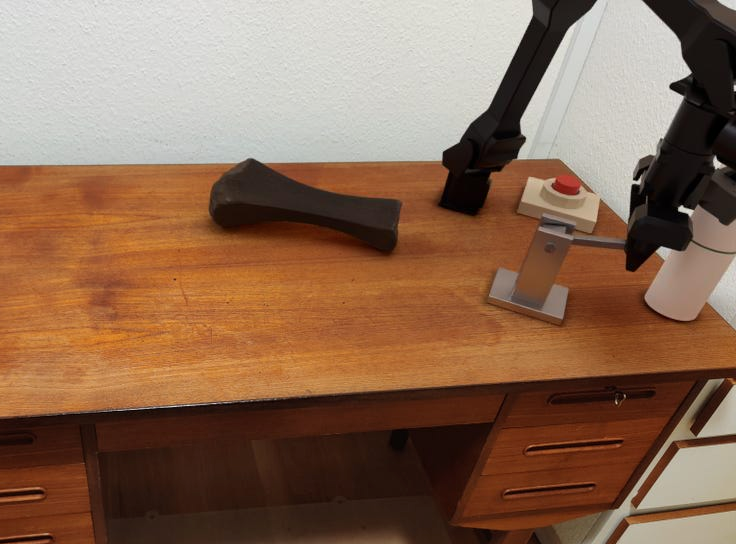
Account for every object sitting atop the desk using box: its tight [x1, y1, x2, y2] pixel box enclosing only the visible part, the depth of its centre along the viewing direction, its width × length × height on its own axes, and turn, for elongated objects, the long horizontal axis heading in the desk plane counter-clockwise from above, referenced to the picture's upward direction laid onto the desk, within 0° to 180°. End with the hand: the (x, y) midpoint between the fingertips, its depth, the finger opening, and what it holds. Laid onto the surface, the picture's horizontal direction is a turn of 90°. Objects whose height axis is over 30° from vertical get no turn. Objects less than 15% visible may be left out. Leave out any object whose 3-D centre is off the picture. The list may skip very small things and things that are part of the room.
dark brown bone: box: [208, 157, 403, 251], centre depth 107 cm, size 11×10×28 cm
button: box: [552, 174, 582, 196], centre depth 119 cm, size 4×4×2 cm
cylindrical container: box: [644, 163, 736, 322], centre depth 95 cm, size 7×7×25 cm
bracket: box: [486, 213, 577, 326], centre depth 97 cm, size 10×8×12 cm
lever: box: [543, 225, 627, 255], centre depth 93 cm, size 13×3×3 cm, turn 66°
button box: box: [516, 176, 601, 234], centre depth 120 cm, size 12×10×4 cm
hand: (630, 259), depth 92 cm, fingers open, 6 cm apart
